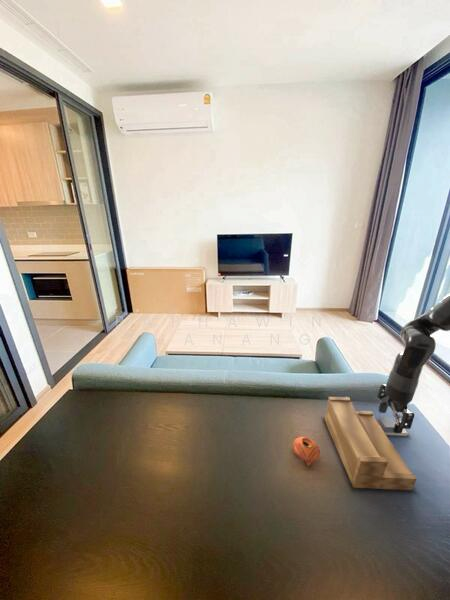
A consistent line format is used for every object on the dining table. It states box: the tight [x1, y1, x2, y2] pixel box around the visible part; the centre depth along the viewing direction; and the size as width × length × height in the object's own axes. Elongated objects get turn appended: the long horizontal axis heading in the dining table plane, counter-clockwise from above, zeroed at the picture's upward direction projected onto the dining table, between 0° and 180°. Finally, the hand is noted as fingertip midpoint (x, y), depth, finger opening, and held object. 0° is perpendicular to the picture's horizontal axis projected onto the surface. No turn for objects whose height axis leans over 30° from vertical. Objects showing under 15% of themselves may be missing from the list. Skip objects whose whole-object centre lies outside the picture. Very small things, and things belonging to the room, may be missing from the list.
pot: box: [292, 436, 321, 467], centre depth 75 cm, size 8×8×7 cm
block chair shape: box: [376, 416, 409, 437], centre depth 85 cm, size 8×4×4 cm, turn 88°
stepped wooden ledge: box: [323, 396, 417, 491], centre depth 77 cm, size 16×23×11 cm
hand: (388, 421), depth 84 cm, fingers open, 8 cm apart
